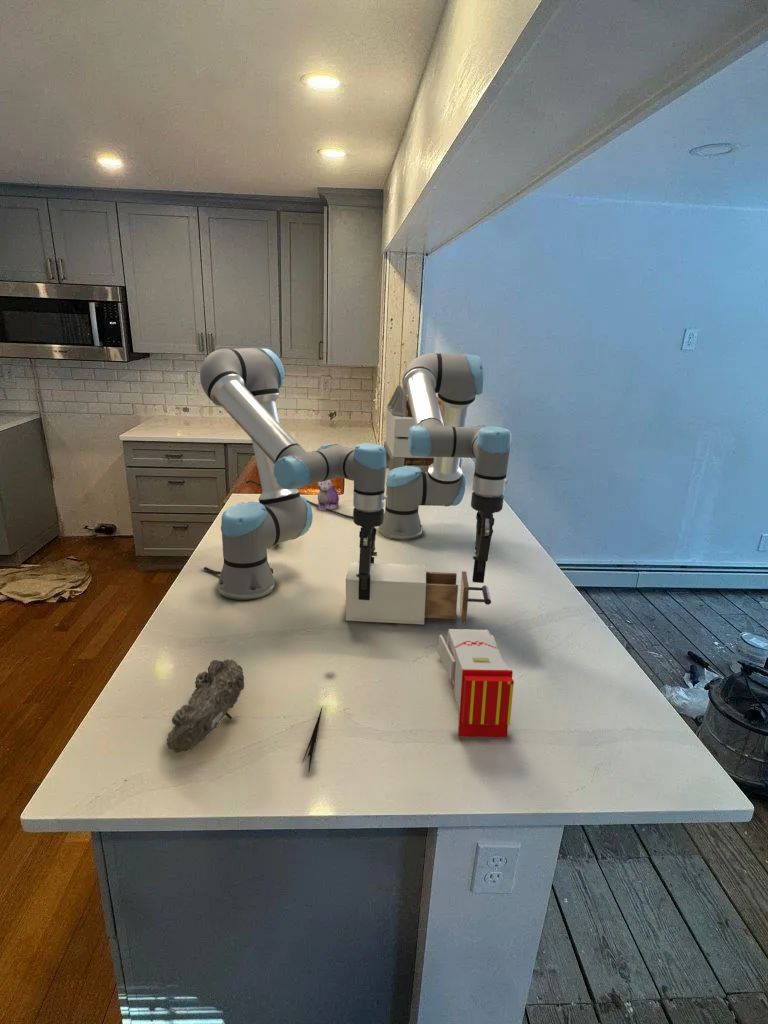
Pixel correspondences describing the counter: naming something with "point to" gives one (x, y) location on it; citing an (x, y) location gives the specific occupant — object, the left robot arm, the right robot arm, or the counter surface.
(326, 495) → the figurine
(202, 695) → the fossil
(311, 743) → the feather
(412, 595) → the cabinet
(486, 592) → the drawer
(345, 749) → the counter surface
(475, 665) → the toy
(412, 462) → the transformer
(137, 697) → the counter surface
